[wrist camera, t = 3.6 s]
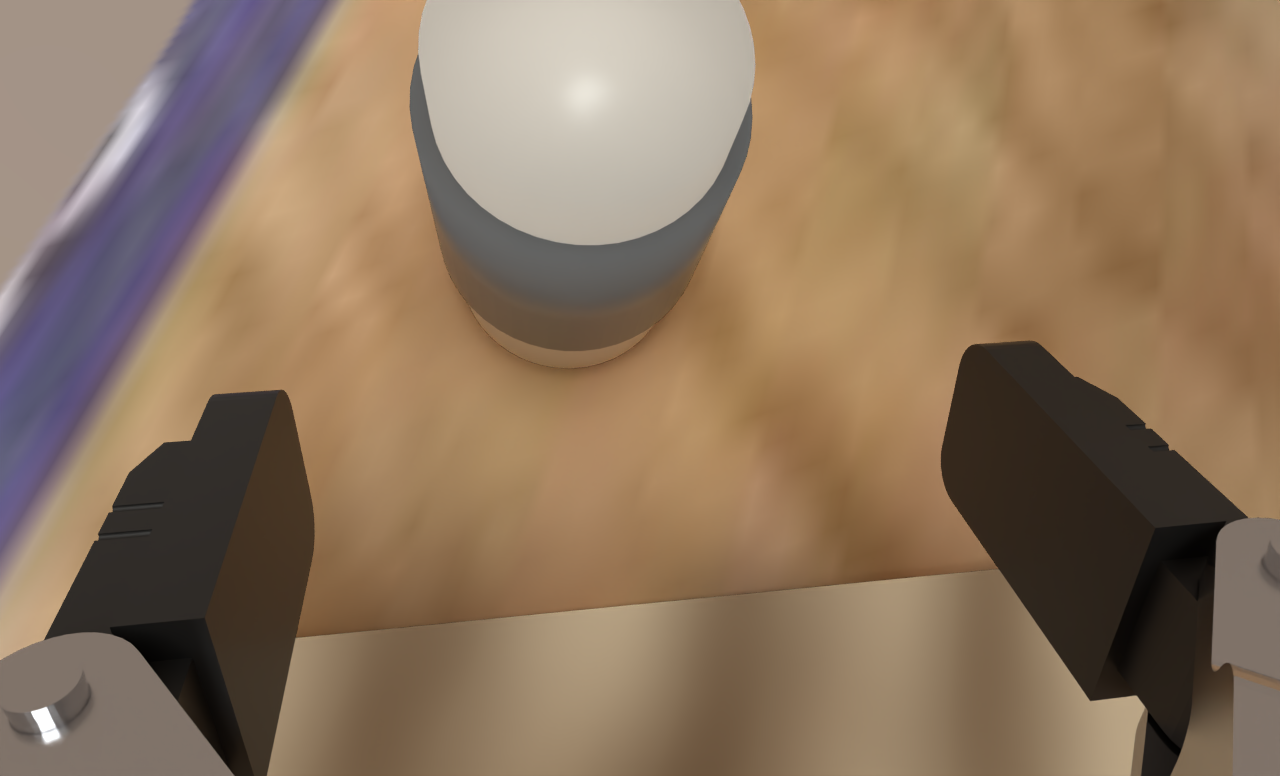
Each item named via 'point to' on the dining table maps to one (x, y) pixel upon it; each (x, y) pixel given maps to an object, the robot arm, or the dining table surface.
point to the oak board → (710, 691)
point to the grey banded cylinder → (579, 159)
